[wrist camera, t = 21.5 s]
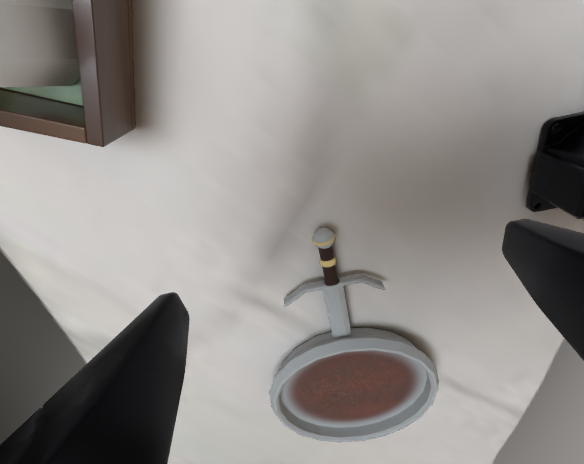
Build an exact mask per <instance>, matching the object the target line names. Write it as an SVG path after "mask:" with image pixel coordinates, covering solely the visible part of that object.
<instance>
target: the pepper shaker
mask: <svg viewBox="0 0 584 464" xmlns="http://www.w3.org/2000/svg"><path fill="white" fill-rule="evenodd" d="M79 78H80V72H79V63H78V54H77V44H76V35H75V26H74V17H73V7H72V0H0V87H40V86H73V85H74V84H75V82H76V81H77V80H78V79H79Z"/></svg>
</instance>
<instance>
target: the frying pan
mask: <svg viewBox="0 0 584 464" xmlns="http://www.w3.org/2000/svg"><path fill="white" fill-rule="evenodd" d="M334 240H335V234H334V233H333V232H332V231H331V230H330V229H328V228H319V229H318V230H316V231H315V233H314V235H313V237H312V242H313V243H314V244H315V245H316V246H317V247H319V252H320V257H321V259H320V263H321V265H322V267H323V272H324V277H325V280H322V281H316V282H311V283H306V284H303V285H301V286H300V287H299V288H298V289H296V290H295V291H294V292H292V293H291V294H290V295H288V296H287V297H286V298H284V307H286V306H288V305H289V304H291V303H292V302H293V301H295V300H296V299H297V298H299V297H300V296H301V295H303V294H304V293H307V292H312V291H318V290H323V293H324V298H325V303H326V307H327V312H328V317H329V321H330V326H331V331H332V332H328V333H325V334H321V335H318V336H315V337H314V338H312V339H310V340H308V341H307V342H305V343H303V344H301V345H300V346H298V347H296V348H295V349H294V350H293V351H292V352H291V353H290V354H289V355H288V357H287V358H286V359H285V360H284V361H283V363H282V365H281V368H280V370H279V373H278V374H277V375H276V376H275V379H274V381H273V384H272V386H271V389H270V391H269V393H270V400H271V407H272V409H273V411H274V413H275V414H276V416H277V417H278V418H279V419H280V421H281V422H282V423H283V425H284V426H286V427H287V428H289V429H291V430H292V431H294V432H296V433H297V434H299V435H302V436H306V437H309V438H313V439H316V440H321V441H332V442H351V441H364V440H368V439H373V438H377V437H382V436H385V435H388V434H390V433H393V432H395V431H398V430H400V429H403V428H405V427H407V426H408V425H410V424H411V423H413V422H414V421H416V420H417V419H419V418H420V417H422V416H423V414H424V413H425V412H426V411H427V410H428V409H429V408H430V406H431V405H432V404H433V402H434V399H435V396H436V393H437V391H438V383H439V380H438V375H437V371H436V366H435V365H434V364H433V362H432V361H431V360H430V359H429V358H428V357H427V356H426V355H425V354H424V353H423V352H422V351H420V350H418V349H416V347H415V346H414V345H413V344H412V343H411V342H410V341H409V340H408V339H405V338H403V337H401V336H399V335H397V334H395V333H393V332H391V331H385V330H379V329H373V328H367V327H365V328H350V323H349V317H348V311H347V305H346V299H345V293H344V287H343V286H345V285H351V284H356V283H364V284H367V285H370V286H373V287H376V288H379V289H382V290H385V287H384V285H383V282H382V281H379V280H376V279H373V278H371V277H368V276H365V275H362V274H354V275H349V276H343V277H337V271H336V265H335V263H336V258H335V257H334V254H333V248H332V244H333V242H334Z"/></svg>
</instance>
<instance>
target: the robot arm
mask: <svg viewBox="0 0 584 464" xmlns="http://www.w3.org/2000/svg"><path fill="white" fill-rule="evenodd" d="M555 124H556V126H555V128H554V129H553V130H552V127H553V126H554V125H555ZM536 203H537V204H536ZM535 204H536V205H535ZM534 205H535V206H534ZM526 207H527V208H528V209H529V210H531V211H533V212H538V211H543V210H548V209H554V208H560V209H562V210H563V211H565V212H567V213H568V214H570V215H572V216H573V217H575V218H577V219H584V112H581V113H576V114H571V115H566V116H562V117H557V118H553V119H550V120H549V121H547V122H546V124H545V125H544V127H543V131H542V135H541V140H540V145H539V149H538V154H537V158H536V163H535V167H534V172H533V177H532V181H531V186H530V191H529V195H528V200H527V204H526ZM502 252H503V255H504V257H505V258H506V260H507V261H508V263H509V264H510V266H511V267H512V269H513V270H514V272H515V273H516V275H517V276H518V278H519V279H520V281H521V282H522V284H523V285H524V287H525V288H526V290H527V291H528V293H529V294H530V296H531V297H532V298H533V300H534V301H535V303H536V304H537V305H538V306H539V308H540V309H541V310H542V311H543V313H544V314H545V315H546V316H547V318H548V319H549V320H550V321H551V322H552V323H553V325H554V326H555V327H556V328H557V329H558V331H559V332H560V333H561V334H562V335H563V337H564V338H565V339H566V340H567V341H568V343H569V344H570V345H571V346H572V347H573V348H574V350H575V351H576V352H577V353H578V354H579V355H580V357H581V358H582V359H583V360H584V233H580V232H576V231H572V230H568V229H565V228H561V227H557V226H553V225H549V224H545V223H541V222H537V221H534V220H530V219H520V220H516V221H511V222H509V223H508V224H507V225H506V228H505V234H504V239H503V245H502ZM188 331H189V314H188V311H187V310H186V308H185V306H184V304H183V303H182V301H181V299H180V297H179V296H178V294H177V293H174V292H172V293H167V294H163V295H160V296H159V297H158V298H157V299H156V300H155V301H154V302H152V303H151V304H150V305H149V306H148V307H147V308H146V309H145V310H144V311H143V312H142V313H141V314H140V315H139V316H138V317H136V318H135V319H134V320H133V321H132V322H131V323H130V324H129V325H128V326H127V327H126V328H125V329H124V330H123V331H122V332H120V333H119V334H118V335H117V336H116V337H115V338H114V339H113V340H112V341H111V342H110V343H109V344H108V345H107V346H106V347H104V348H103V349H102V350H101V351H100V352H99V353H98V354H97V355H96V356H95V357H94V358H93V359H92V360H91V361H90V362H88V363H87V364H86V365H85V366H84V367H83V368H82V369H81V370H80V371H79V372H78V373H77V374H76V375H75V376H74V377H73V378H71V379H70V380H69V381H68V382H67V383H66V384H65V385H64V386H63V387H62V388H61V389H60V390H59V391H58V392H57V393H55V395H53V396H52V397H51V398H50V399H49V400H48V401H47V402H46V403H45V404H44V405H43V408H40V409H38V410H37V411H36V412H35V413H34V414H33V415H32V416H31V417H30V418H29V419H28V420H27V421H26V422H25V423H23V424H22V425H21V426H20V427H19V428H18V429H17V430H16V431H15V432H14V433H13V434H11V435H10V436H9V437H8V438H7V439H6V440H5V441H4V442H3V443H2V444H0V464H167V462H168V457H169V452H170V447H171V442H172V436H173V431H174V426H175V421H176V416H177V411H178V406H179V400H180V395H181V390H182V385H183V380H184V374H185V366H186V355H187V343H188Z"/></svg>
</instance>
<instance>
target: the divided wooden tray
mask: <svg viewBox="0 0 584 464" xmlns="http://www.w3.org/2000/svg"><path fill="white" fill-rule="evenodd" d="M72 7H73V17H74V26H75V35H76V44H77V54H78V63H79V72H80V78H79V79H78V80H77V81H76V82H75V84H74V85H73V86H40V87H0V126H4V127H9V128H14V129H18V130H23V131H28V132H33V133H38V134H43V135H48V136H53V137H57V138H62V139H67V140H72V141H77V142H82V143H88V144H91V145H96V146H101V147H104V146H106V145H108V144H109V143H111V142H113V141H114V140H116V139H118V138H120V137H121V136H123V135H125V134H126V133H128V132H130V131H131V130H133V129H135V99H134V63H133V27H132V0H72Z"/></svg>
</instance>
